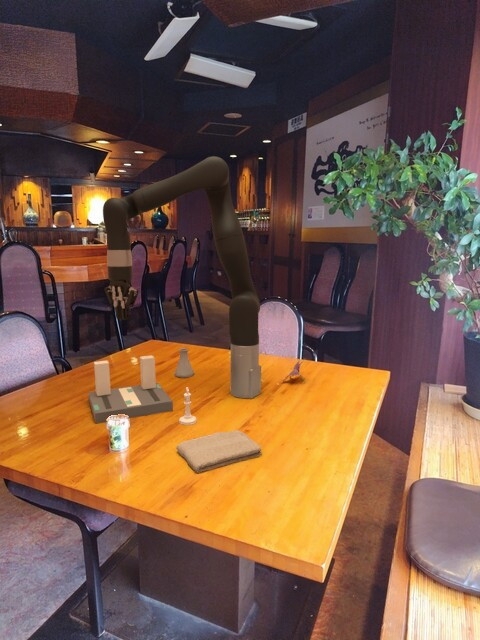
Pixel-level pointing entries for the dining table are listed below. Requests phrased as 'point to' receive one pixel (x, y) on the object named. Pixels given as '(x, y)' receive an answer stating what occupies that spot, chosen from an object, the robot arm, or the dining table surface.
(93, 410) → the switch bank
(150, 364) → the tab
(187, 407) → the chess piece
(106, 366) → the tab
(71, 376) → the dining table surface
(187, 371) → the flask
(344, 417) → the dining table surface
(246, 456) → the washcloth
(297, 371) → the lily
